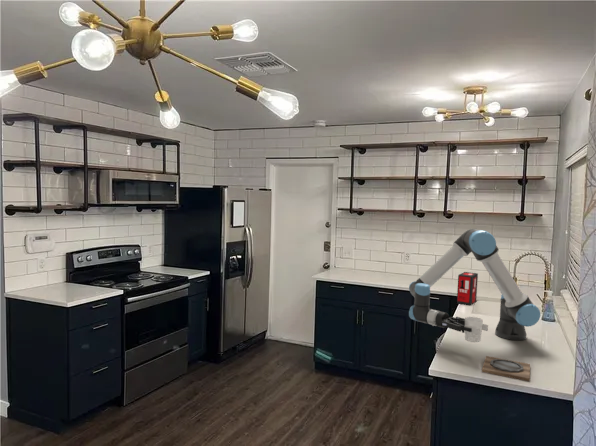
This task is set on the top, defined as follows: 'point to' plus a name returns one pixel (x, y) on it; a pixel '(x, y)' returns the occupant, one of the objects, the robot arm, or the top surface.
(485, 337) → the top surface
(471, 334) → the white cup
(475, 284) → the cleaning product box
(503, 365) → the coaster board
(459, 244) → the robot arm
